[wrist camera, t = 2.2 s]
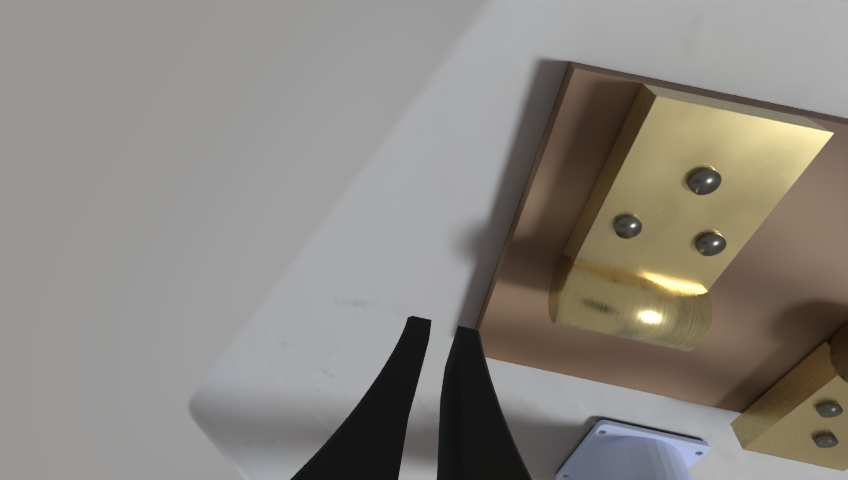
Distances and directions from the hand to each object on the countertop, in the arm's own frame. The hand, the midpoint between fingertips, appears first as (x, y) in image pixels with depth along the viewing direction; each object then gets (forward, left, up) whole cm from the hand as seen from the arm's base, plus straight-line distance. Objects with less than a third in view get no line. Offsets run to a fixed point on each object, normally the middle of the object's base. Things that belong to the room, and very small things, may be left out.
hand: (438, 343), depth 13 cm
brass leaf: (+2, -8, -8) cm, 12 cm away
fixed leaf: (-6, -23, -8) cm, 25 cm away
